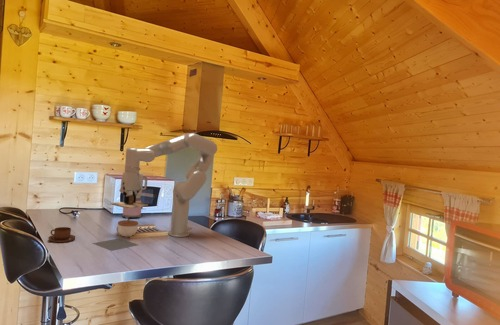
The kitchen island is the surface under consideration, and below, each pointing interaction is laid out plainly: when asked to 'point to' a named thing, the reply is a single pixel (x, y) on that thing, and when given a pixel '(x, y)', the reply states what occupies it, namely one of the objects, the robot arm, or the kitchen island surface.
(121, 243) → the rubber mat
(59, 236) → the cup and saucer
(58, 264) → the kitchen island surface
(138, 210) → the blender
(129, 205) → the birch lid
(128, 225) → the lidded jar
